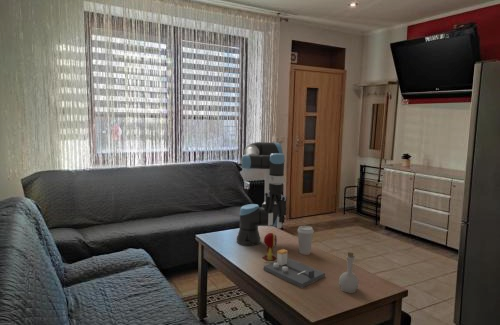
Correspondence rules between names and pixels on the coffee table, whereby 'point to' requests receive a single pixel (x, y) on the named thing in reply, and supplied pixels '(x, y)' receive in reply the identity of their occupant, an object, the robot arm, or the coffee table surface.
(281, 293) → the coffee table surface
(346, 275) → the potion bottle
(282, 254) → the block
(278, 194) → the robot arm
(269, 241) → the figurine
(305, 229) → the coffee cup
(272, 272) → the console
